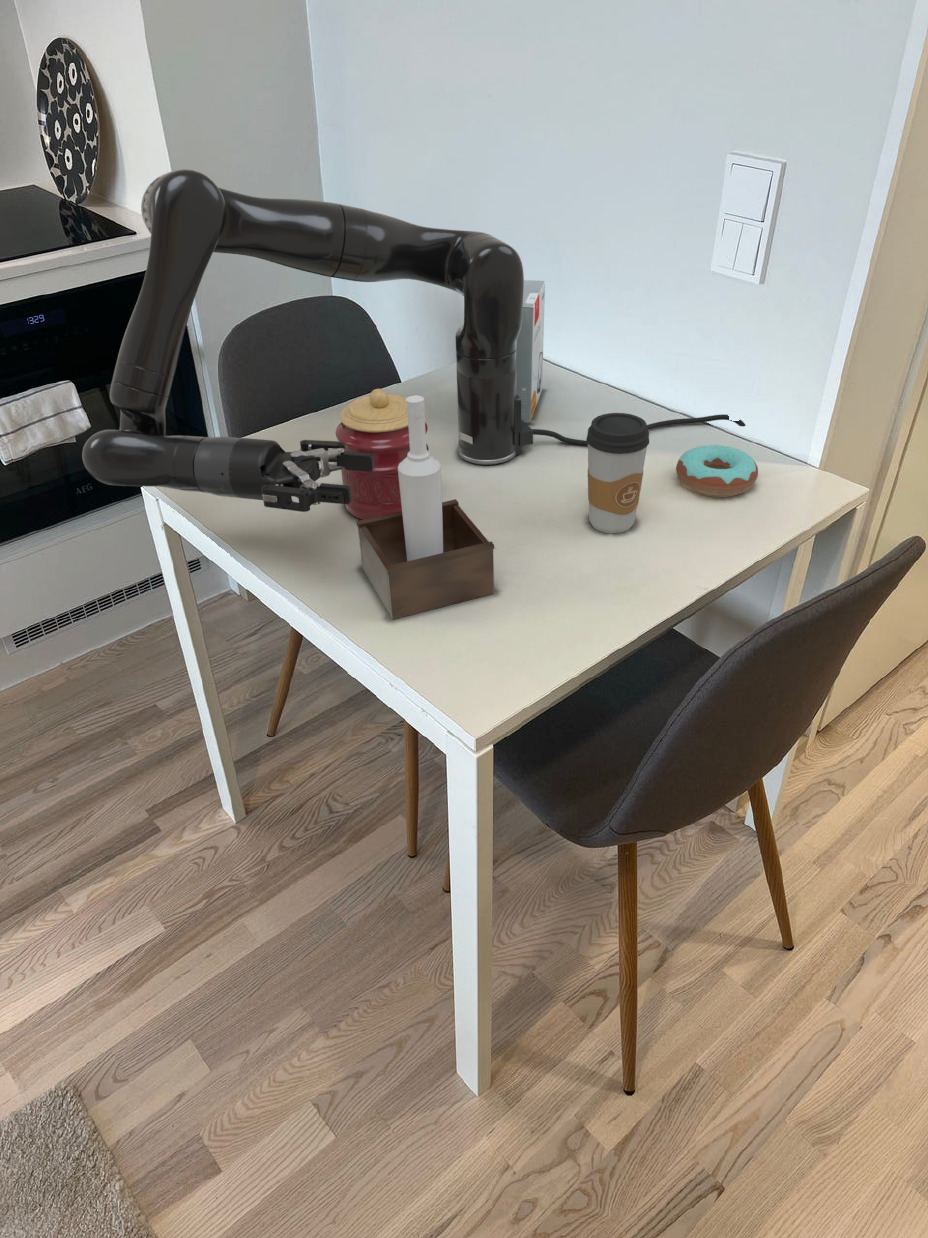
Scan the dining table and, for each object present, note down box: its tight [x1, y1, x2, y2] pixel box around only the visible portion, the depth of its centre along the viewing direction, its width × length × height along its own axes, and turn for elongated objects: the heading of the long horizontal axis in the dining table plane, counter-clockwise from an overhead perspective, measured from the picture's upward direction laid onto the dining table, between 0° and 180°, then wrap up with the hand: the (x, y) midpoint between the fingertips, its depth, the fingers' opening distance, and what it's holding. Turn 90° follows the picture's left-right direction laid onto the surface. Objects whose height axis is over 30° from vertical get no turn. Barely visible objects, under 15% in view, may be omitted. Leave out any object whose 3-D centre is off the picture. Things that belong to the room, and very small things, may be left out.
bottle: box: [398, 394, 443, 561], centre depth 114 cm, size 5×5×25 cm
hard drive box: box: [516, 279, 546, 424], centre depth 160 cm, size 16×8×20 cm, turn 168°
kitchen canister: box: [335, 388, 430, 520], centre depth 133 cm, size 13×13×18 cm
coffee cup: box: [585, 412, 650, 534], centre depth 127 cm, size 8×8×15 cm
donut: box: [675, 444, 759, 498], centre depth 139 cm, size 12×12×4 cm
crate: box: [355, 498, 495, 620], centre depth 119 cm, size 14×13×7 cm
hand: (362, 478), depth 114 cm, fingers open, 8 cm apart
